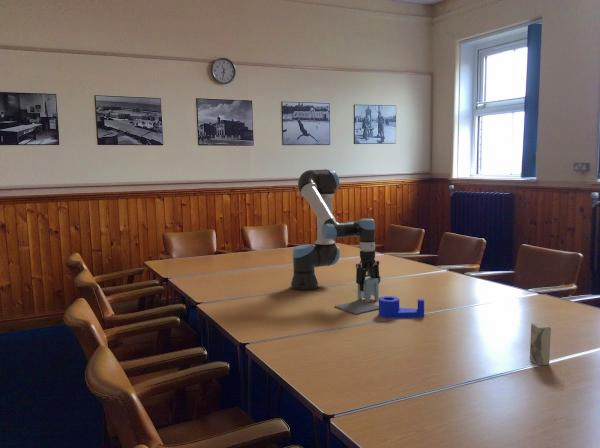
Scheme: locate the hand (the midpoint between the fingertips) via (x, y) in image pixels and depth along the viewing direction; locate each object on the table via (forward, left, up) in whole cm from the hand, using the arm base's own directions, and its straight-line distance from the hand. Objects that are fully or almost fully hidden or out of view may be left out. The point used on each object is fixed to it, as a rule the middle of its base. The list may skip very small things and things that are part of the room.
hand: (368, 296), depth 258 cm
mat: (+8, -13, -2) cm, 15 cm away
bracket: (+29, -6, -2) cm, 30 cm away
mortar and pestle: (-17, +17, -2) cm, 24 cm away
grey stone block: (+97, -10, -2) cm, 98 cm away
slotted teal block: (0, 0, -2) cm, 2 cm away
